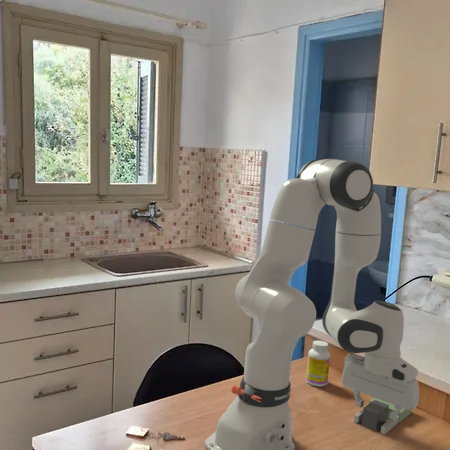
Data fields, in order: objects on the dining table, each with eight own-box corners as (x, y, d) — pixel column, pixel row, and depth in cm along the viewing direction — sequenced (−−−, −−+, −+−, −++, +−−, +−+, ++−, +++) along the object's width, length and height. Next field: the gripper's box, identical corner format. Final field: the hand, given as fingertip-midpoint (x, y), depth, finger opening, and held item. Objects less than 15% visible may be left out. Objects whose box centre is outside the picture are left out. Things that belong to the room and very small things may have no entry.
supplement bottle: (327, 388, 157) (331, 348, 155) (305, 385, 158) (309, 345, 156) (327, 380, 163) (331, 340, 162) (306, 376, 165) (310, 338, 163)
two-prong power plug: (385, 435, 132) (387, 413, 131) (353, 421, 138) (355, 400, 137) (411, 412, 146) (414, 392, 145) (381, 400, 151) (383, 381, 150)
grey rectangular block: (372, 416, 141) (374, 399, 141) (386, 422, 139) (388, 404, 138) (361, 425, 136) (363, 407, 136) (375, 431, 134) (377, 413, 133)
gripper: (340, 353, 140) (335, 402, 141) (415, 378, 126) (408, 431, 128) (351, 348, 144) (345, 395, 146) (424, 372, 131) (417, 423, 133)
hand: (375, 412), depth 137 cm, fingers open, 8 cm apart
